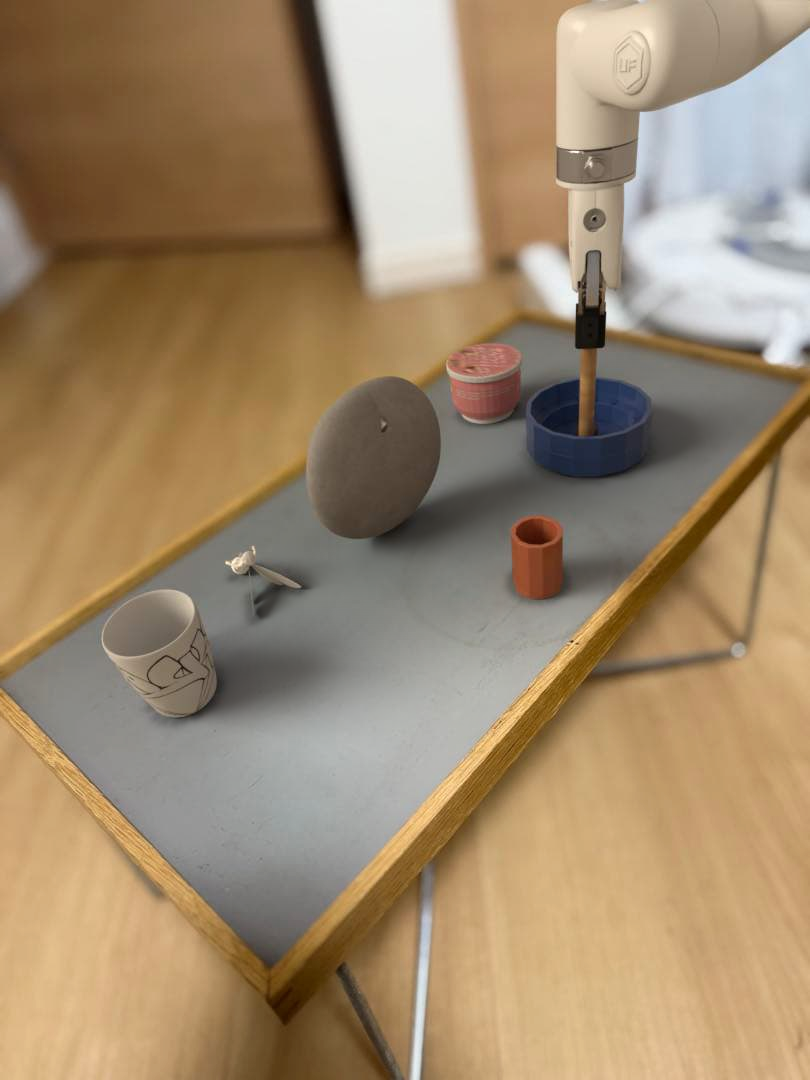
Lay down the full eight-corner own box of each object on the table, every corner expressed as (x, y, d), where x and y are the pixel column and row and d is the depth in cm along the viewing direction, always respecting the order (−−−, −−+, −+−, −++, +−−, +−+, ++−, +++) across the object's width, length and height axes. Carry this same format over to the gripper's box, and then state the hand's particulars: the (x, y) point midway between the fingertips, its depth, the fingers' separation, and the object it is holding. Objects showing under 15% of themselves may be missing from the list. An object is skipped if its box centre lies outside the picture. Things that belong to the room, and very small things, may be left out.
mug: (126, 668, 72) (85, 599, 66) (203, 629, 75) (170, 560, 69) (156, 744, 64) (112, 674, 58) (241, 698, 67) (208, 626, 61)
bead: (598, 436, 92) (599, 416, 90) (598, 448, 90) (599, 428, 88) (575, 436, 93) (575, 416, 91) (574, 449, 90) (575, 429, 89)
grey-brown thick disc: (425, 480, 91) (406, 343, 79) (464, 500, 86) (450, 359, 74) (311, 553, 82) (269, 413, 71) (347, 579, 78) (310, 435, 66)
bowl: (644, 415, 95) (647, 375, 92) (652, 480, 84) (656, 437, 80) (530, 417, 99) (529, 379, 95) (524, 480, 88) (522, 439, 84)
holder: (562, 567, 75) (563, 515, 70) (561, 600, 71) (562, 548, 67) (515, 566, 76) (512, 515, 72) (512, 598, 72) (509, 547, 68)
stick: (593, 432, 87) (599, 290, 76) (593, 440, 86) (599, 296, 75) (578, 432, 88) (582, 291, 76) (578, 440, 86) (582, 297, 75)
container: (477, 387, 108) (473, 338, 103) (537, 401, 102) (536, 349, 97) (437, 419, 102) (431, 369, 97) (498, 435, 96) (495, 383, 91)
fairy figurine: (254, 546, 83) (267, 533, 77) (285, 595, 83) (301, 587, 77) (209, 572, 80) (219, 561, 74) (242, 623, 81) (254, 617, 74)
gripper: (641, 180, 61) (627, 374, 72) (632, 139, 72) (621, 312, 84) (553, 189, 62) (553, 377, 74) (558, 147, 74) (557, 315, 86)
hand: (589, 341), depth 79 cm, fingers closed on stick, 1 cm apart
